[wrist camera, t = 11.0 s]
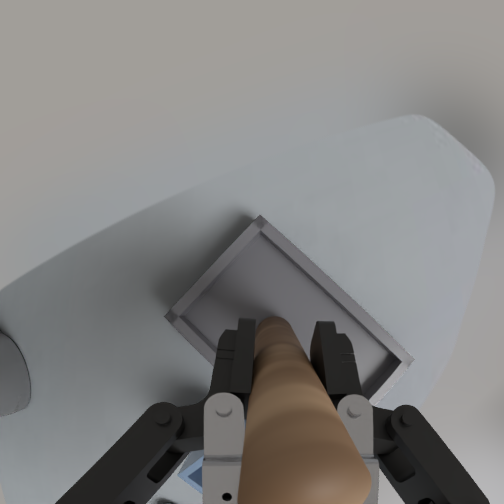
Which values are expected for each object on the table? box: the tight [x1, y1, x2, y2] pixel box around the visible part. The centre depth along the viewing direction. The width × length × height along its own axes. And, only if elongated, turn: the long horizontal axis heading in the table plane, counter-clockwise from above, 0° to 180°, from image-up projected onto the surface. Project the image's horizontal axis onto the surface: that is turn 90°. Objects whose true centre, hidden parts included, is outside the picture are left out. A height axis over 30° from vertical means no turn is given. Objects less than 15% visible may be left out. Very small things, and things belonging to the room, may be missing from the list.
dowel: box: [237, 316, 372, 504], centre depth 12 cm, size 3×3×16 cm
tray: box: [164, 215, 415, 406], centre depth 20 cm, size 16×10×2 cm, turn 47°
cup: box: [178, 419, 246, 494], centre depth 17 cm, size 5×5×6 cm
